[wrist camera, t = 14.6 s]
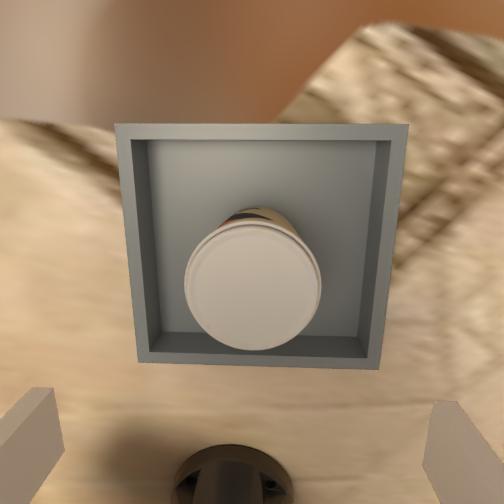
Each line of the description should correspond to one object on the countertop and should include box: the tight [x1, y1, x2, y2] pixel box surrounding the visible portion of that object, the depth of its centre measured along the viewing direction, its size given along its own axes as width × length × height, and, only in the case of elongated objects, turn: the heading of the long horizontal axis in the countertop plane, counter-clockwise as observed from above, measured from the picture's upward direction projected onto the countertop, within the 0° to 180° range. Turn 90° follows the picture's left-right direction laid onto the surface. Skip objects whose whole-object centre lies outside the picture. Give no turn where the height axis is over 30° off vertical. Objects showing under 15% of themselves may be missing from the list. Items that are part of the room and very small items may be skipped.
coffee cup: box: [184, 206, 321, 350], centre depth 29 cm, size 9×9×12 cm
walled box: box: [114, 124, 409, 370], centre depth 33 cm, size 22×23×5 cm
